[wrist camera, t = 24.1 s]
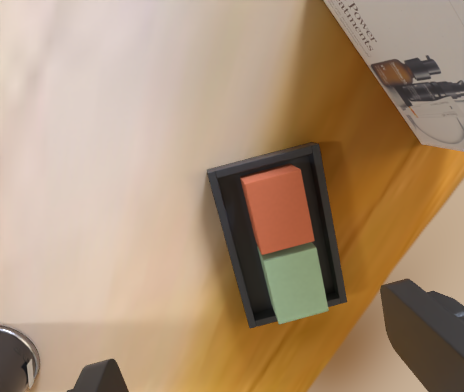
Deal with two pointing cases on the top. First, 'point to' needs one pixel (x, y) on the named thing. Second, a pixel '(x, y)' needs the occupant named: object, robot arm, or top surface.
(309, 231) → the terracotta pad
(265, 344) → the top surface
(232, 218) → the frame
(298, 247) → the sage pad
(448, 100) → the skincare box
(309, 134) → the top surface
